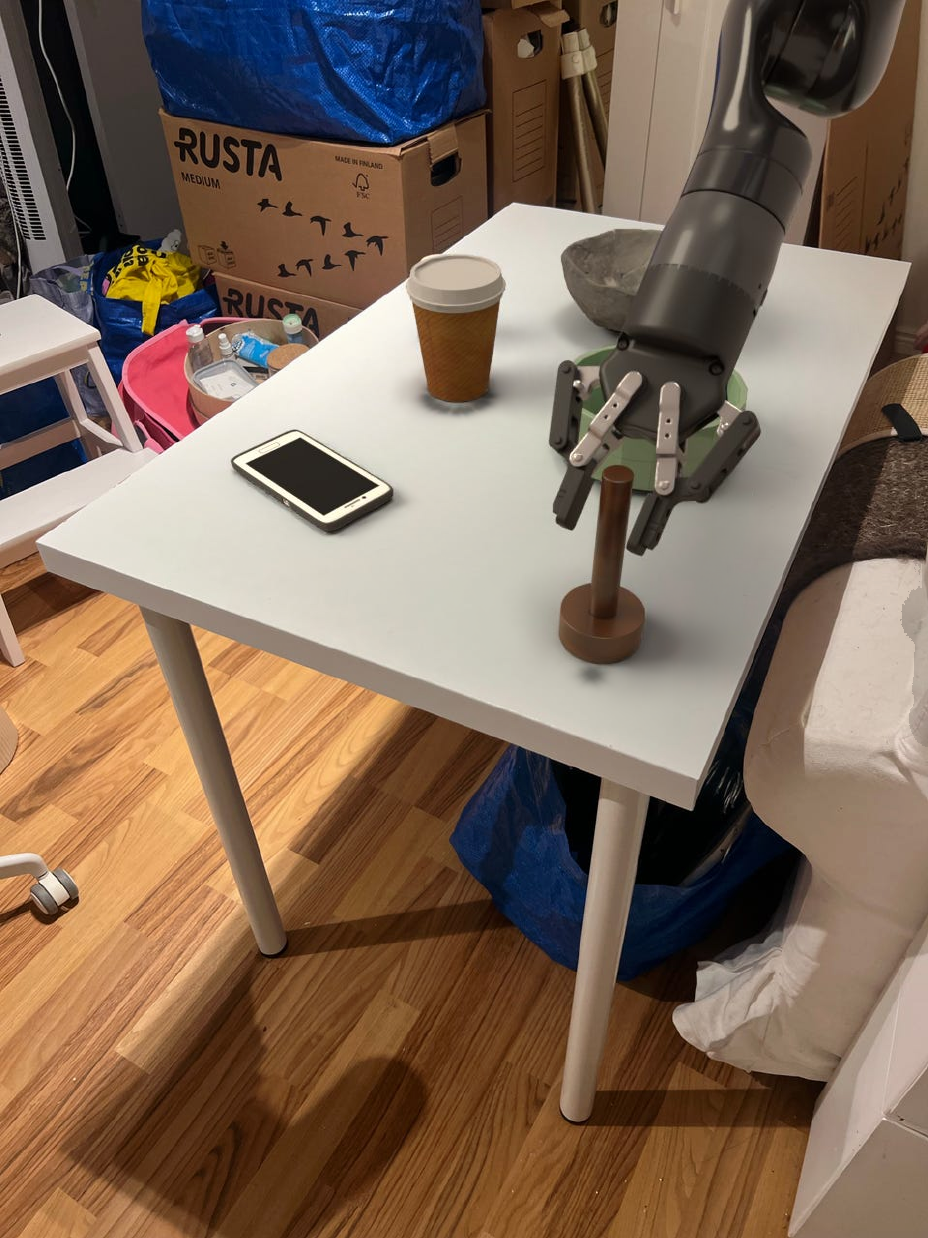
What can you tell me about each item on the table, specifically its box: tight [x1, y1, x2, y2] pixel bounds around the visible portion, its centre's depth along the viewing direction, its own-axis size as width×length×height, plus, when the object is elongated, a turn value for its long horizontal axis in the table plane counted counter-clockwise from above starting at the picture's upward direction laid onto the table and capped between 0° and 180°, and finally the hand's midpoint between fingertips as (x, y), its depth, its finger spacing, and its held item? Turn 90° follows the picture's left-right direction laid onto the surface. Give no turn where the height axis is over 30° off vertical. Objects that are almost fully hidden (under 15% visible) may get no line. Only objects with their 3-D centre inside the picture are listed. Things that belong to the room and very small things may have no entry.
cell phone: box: [230, 428, 394, 532], centre depth 81 cm, size 8×15×1 cm, turn 44°
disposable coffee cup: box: [405, 253, 507, 403], centre depth 90 cm, size 10×10×12 cm
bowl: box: [560, 228, 663, 332], centre depth 101 cm, size 18×18×8 cm
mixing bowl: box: [572, 344, 749, 492], centre depth 83 cm, size 16×16×6 cm
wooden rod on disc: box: [558, 465, 646, 665], centre depth 62 cm, size 6×6×14 cm
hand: (599, 538), depth 59 cm, fingers open, 4 cm apart
